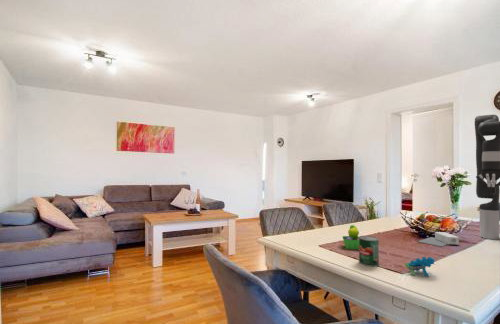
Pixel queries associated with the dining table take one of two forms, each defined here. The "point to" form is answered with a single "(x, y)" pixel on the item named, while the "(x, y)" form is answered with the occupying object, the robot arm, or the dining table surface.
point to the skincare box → (447, 238)
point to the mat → (433, 242)
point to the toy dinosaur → (420, 264)
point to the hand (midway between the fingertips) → (491, 194)
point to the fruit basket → (352, 238)
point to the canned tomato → (369, 250)
